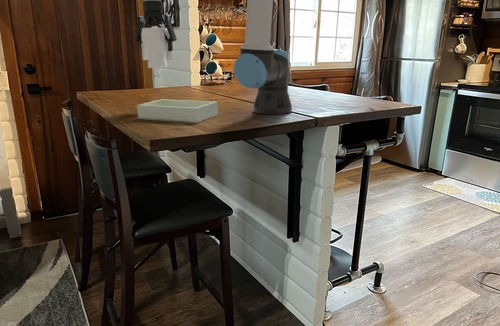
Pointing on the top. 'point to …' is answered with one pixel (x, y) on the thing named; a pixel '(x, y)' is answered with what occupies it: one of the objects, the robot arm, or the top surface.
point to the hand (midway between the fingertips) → (157, 60)
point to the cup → (155, 46)
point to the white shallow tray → (178, 110)
